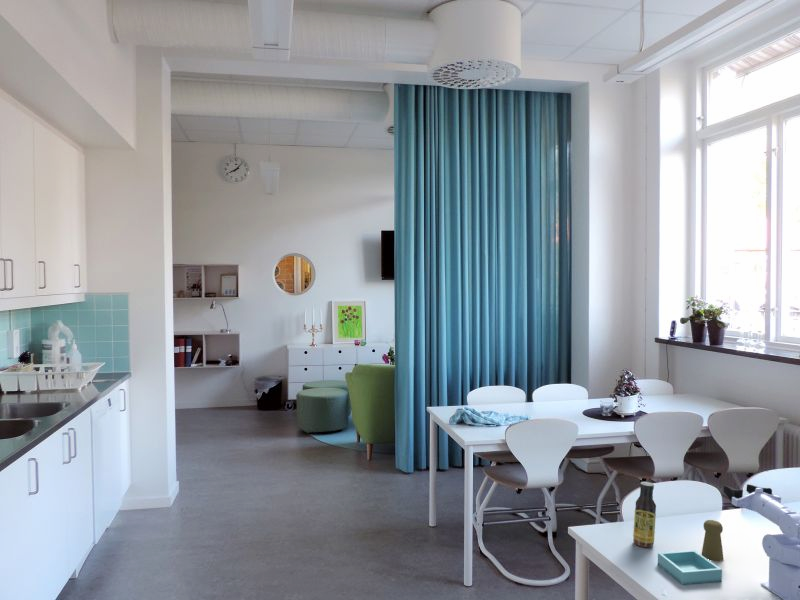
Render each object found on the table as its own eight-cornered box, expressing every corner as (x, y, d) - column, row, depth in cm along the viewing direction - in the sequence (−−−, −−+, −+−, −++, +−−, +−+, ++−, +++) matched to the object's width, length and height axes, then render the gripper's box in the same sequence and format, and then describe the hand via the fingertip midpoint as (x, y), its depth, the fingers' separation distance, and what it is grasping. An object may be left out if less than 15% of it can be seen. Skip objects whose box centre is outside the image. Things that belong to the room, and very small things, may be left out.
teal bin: (721, 581, 167) (722, 569, 167) (682, 584, 165) (683, 572, 165) (694, 561, 179) (694, 550, 179) (657, 564, 177) (657, 552, 177)
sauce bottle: (632, 546, 189) (633, 484, 189) (634, 538, 195) (635, 478, 194) (654, 550, 186) (655, 488, 186) (656, 542, 192) (657, 482, 191)
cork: (726, 562, 179) (727, 526, 178) (704, 560, 180) (705, 524, 180) (719, 553, 185) (720, 518, 184) (698, 551, 186) (699, 516, 185)
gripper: (794, 494, 168) (758, 474, 181) (748, 496, 166) (715, 476, 179) (792, 517, 169) (756, 496, 182) (746, 520, 166) (713, 499, 180)
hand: (736, 488), depth 180 cm, fingers open, 7 cm apart
